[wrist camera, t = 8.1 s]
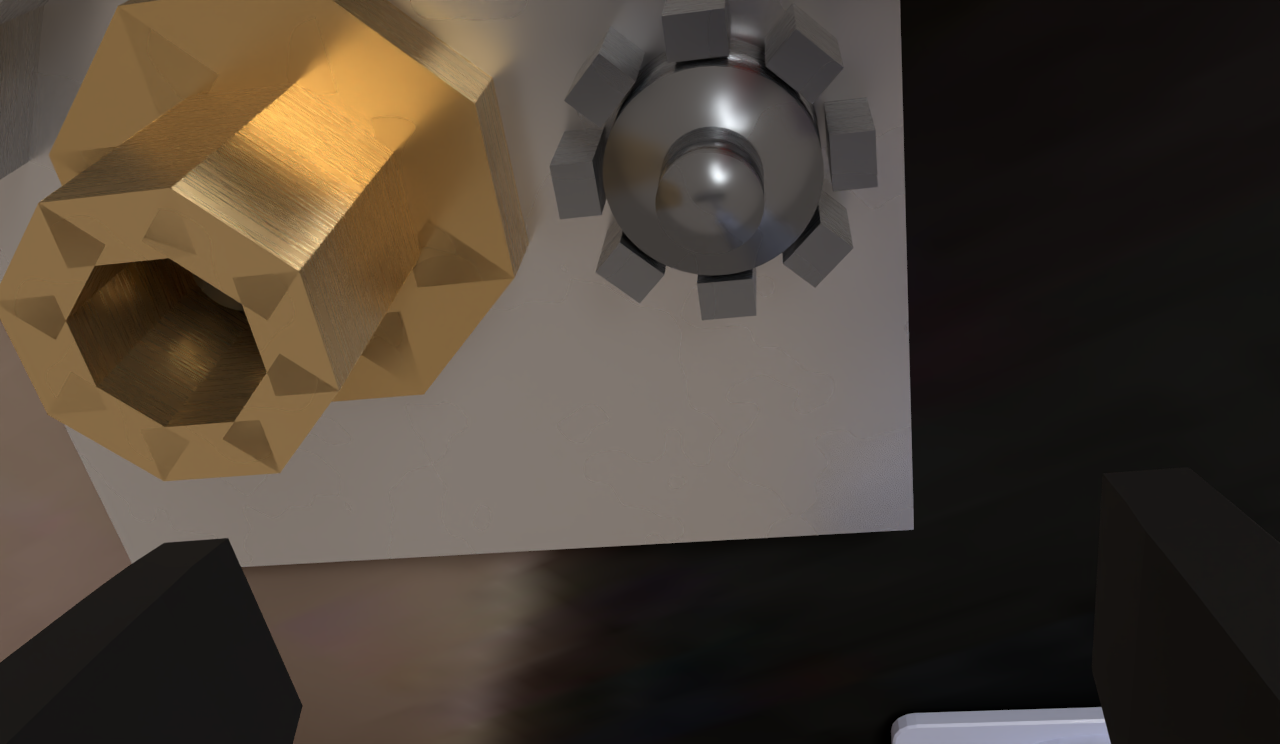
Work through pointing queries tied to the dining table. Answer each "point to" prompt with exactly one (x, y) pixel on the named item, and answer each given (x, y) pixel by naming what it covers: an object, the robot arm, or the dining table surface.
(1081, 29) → the dining table surface
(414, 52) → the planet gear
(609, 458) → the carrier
